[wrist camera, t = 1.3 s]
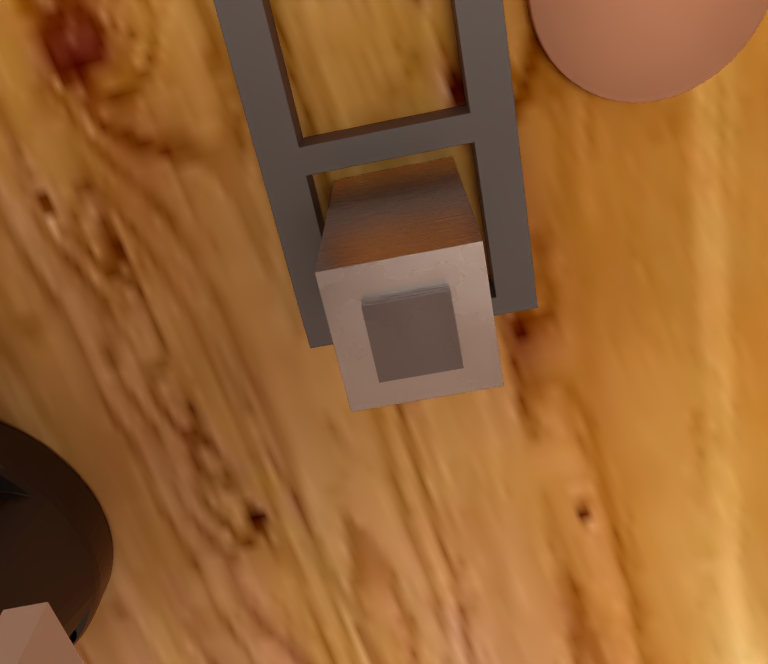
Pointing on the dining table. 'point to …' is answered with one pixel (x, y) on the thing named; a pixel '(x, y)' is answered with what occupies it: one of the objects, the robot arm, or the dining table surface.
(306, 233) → the grey double frame
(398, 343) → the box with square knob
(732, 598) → the dining table surface
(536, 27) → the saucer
